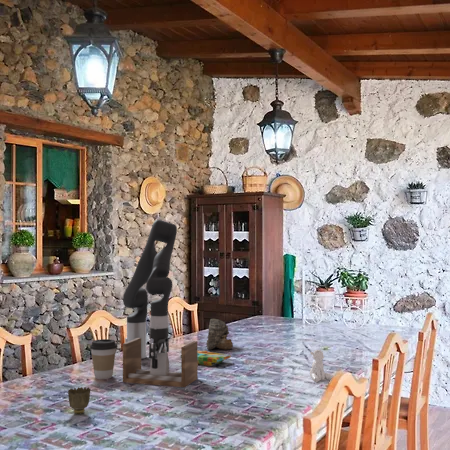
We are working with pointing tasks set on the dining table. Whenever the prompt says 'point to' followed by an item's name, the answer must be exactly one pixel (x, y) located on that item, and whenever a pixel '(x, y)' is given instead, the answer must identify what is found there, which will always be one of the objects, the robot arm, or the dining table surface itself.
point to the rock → (218, 335)
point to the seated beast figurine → (318, 367)
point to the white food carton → (161, 365)
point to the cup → (79, 399)
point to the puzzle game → (210, 358)
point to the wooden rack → (136, 375)
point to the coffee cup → (103, 357)
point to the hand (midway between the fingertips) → (159, 366)
